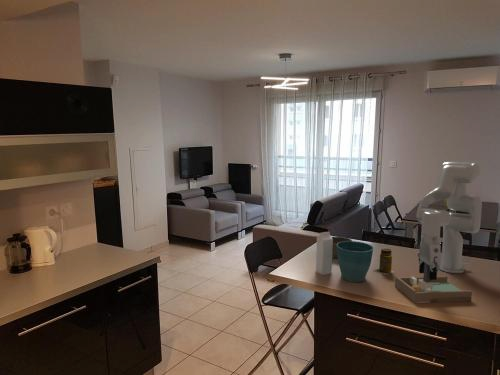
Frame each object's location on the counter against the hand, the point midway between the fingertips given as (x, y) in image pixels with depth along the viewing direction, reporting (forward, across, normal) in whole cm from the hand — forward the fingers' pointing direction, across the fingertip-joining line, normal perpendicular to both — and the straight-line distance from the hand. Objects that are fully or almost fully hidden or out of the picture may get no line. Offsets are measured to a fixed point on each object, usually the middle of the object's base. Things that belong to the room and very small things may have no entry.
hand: (427, 276), depth 166 cm
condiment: (+9, +29, +7) cm, 31 cm away
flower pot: (+9, +21, +27) cm, 35 cm away
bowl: (+9, +57, +23) cm, 62 cm away
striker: (+6, 0, -2) cm, 6 cm away
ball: (+6, 0, +6) cm, 8 cm away
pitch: (+8, 0, -2) cm, 9 cm away
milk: (+9, +30, +40) cm, 50 cm away
